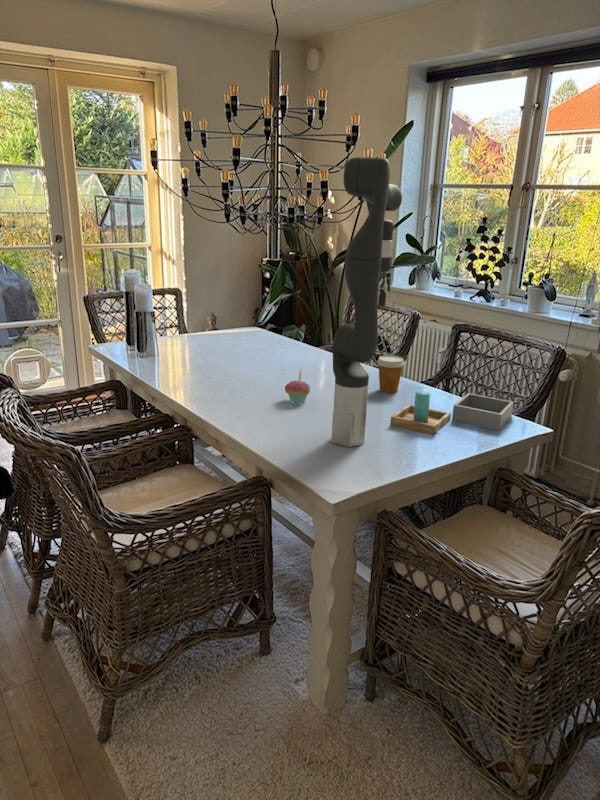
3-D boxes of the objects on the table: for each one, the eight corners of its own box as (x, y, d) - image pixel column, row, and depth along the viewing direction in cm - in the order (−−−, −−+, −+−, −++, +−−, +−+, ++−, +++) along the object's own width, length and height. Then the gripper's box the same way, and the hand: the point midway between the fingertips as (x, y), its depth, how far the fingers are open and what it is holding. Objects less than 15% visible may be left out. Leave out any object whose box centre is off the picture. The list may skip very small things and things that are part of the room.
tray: (433, 436, 179) (435, 426, 178) (390, 425, 186) (391, 416, 185) (449, 422, 191) (450, 413, 190) (408, 413, 198) (408, 404, 197)
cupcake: (314, 403, 204) (315, 369, 200) (292, 407, 200) (293, 372, 196) (301, 396, 211) (302, 362, 207) (280, 399, 207) (280, 365, 203)
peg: (424, 424, 185) (427, 396, 182) (411, 421, 187) (413, 394, 184) (429, 420, 189) (432, 392, 186) (416, 417, 191) (418, 390, 188)
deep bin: (498, 433, 183) (501, 414, 181) (451, 423, 190) (453, 404, 188) (511, 419, 195) (513, 401, 193) (466, 410, 202) (468, 393, 200)
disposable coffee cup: (405, 389, 221) (408, 357, 217) (395, 396, 213) (398, 363, 209) (381, 385, 226) (383, 353, 222) (370, 391, 218) (373, 359, 214)
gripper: (381, 257, 179) (377, 312, 184) (400, 254, 190) (396, 306, 196) (358, 255, 183) (355, 309, 188) (378, 252, 194) (375, 303, 199)
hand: (376, 307), depth 192 cm, fingers open, 8 cm apart
